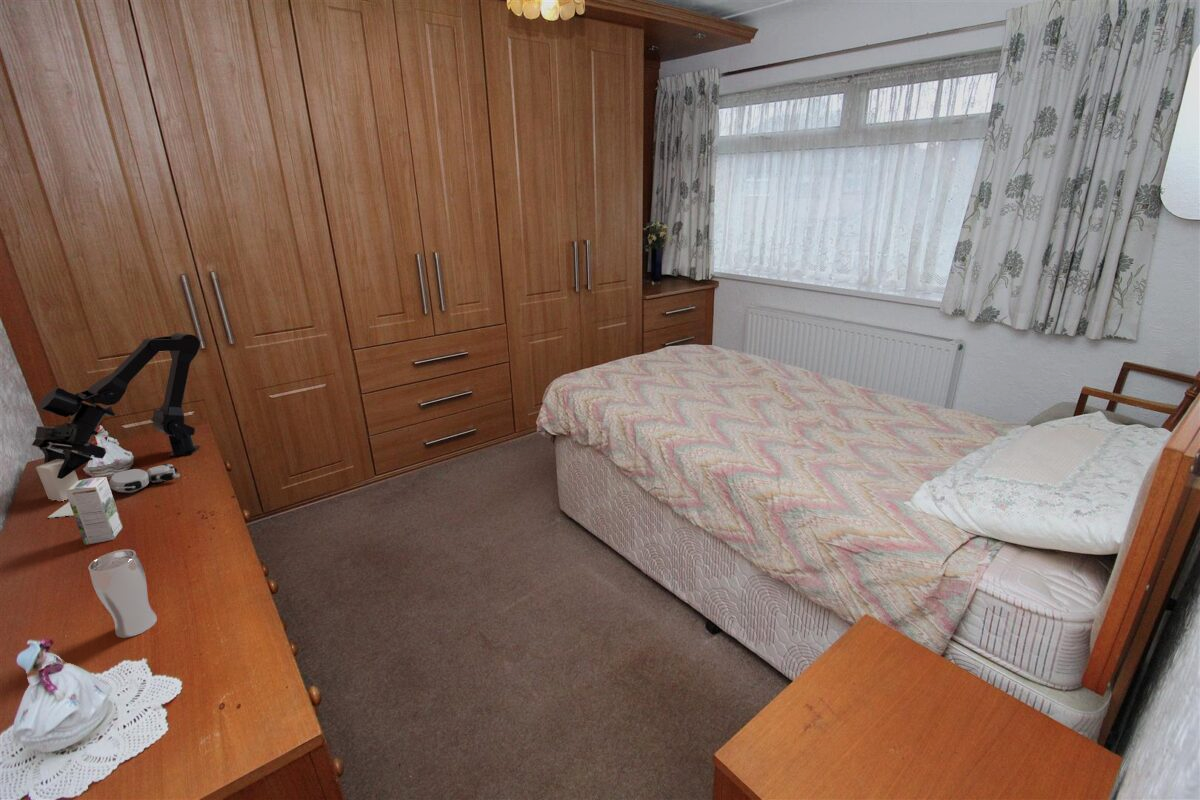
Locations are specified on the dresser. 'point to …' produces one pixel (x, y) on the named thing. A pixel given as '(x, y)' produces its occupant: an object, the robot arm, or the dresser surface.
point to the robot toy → (141, 478)
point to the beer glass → (123, 591)
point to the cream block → (55, 480)
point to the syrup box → (94, 510)
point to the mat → (63, 511)
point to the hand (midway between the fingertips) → (51, 477)
